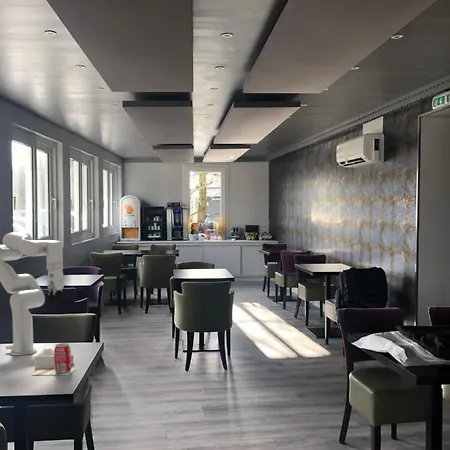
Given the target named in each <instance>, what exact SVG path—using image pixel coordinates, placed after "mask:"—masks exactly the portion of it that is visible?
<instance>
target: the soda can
mask: <svg viewBox="0 0 450 450" xmlns="http://www.w3.org/2000/svg"><path fill="white" fill-rule="evenodd" d="M53 351H54V367H55V368H54V369H55V371H56V372H57V373H67V372H69V371H70V370H71V369H72V365H71V355H72V352H71V351H72V350H71V347H70V344H69V343H65V342H64V343H63V342H62V343H57V344H55V347H54V350H53Z"/></svg>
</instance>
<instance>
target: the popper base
mask: <svg viewBox="0 0 450 450" xmlns="http://www.w3.org/2000/svg"><path fill="white" fill-rule="evenodd" d="M42 351H43V350H42ZM42 351H40V352H42ZM40 352H38V353H37V354H36V355H34V369H55V367H54V355H53V356H40Z"/></svg>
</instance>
